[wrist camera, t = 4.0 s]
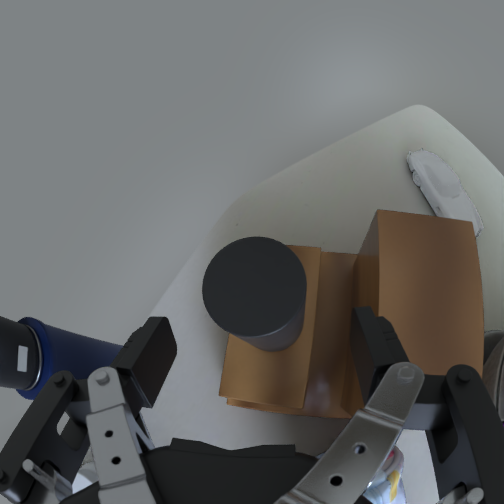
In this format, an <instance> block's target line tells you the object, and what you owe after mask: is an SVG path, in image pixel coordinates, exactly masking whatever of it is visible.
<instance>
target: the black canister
mask: <svg viewBox="0 0 504 504" xmlns="http://www.w3.org/2000/svg"><path fill="white" fill-rule="evenodd" d="M306 292H307V279H306V274H305V270H304V267H303V265H302V263H301V261H300V259H299V258H298V257H297V255H296V254H295V253H294V252H293V251H292V250H291V249H290V248H289V247H287V246H286V245H284V244H283V243H281V242H279V241H276V240H274V239H270V238H266V237H247V238H243V239H240V240H237V241H234V242H232V243H230V244H229V245H227V246H225V247H224V248H223V249H222V250H220V251H219V252H218V253H217V254H216V255H215V256H214V258H213V259H212V260H211V262H210V264H209V265H208V267H207V269H206V272H205V275H204V279H203V285H202V294H203V300H204V304H205V307H206V309H207V311H208V313H209V315H210V317H211V318H212V319H213V320H214V322H215V323H216V324H218V325H219V326H220V327H221V328H222V329H224V330H225V331H227V332H229V333H231V334H232V335H234V336H236V337H238V338H240V339H241V340H243V341H245V342H247V343H249V344H251V345H253V346H254V347H256V348H258V349H260V350H263V351H268V352H276V351H281V350H284V349H286V348H288V347H290V346H291V345H292V344H293V343H295V341H296V340H297V339H298V338H299V336H300V334H301V332H302V329H303V325H304V315H305V304H306Z"/></svg>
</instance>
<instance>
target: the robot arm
mask: <svg viewBox="0 0 504 504" xmlns="http://www.w3.org/2000/svg"><path fill="white" fill-rule="evenodd" d="M350 348H351V353H352V357H353V361H354V365H355V369H356V373H357V377H358V381H359V385H360V389H361V394H362V398H363V402H364V408H363V409H361V408H360V409H358V410H357V412H356V413H355V414H354V416H353V417H352V418H351V420H350V421H349V422H348V424H347V425H346V427H345V428H344V429H343V431H342V432H341V433H340V434H339V436H338V437H337V438H336V440H335V441H334V442H333V443H332V445H331V446H330V447H329V448H328V450H327V451H326V452H325V453H324V454H323V456H322V457H321V458H320V459H317V458H315V457H313V456H310V455H307V454H303V453H298V452H296V448H295V444H291V445H261V446H255V447H250V448H244V449H238V450H226V449H222V448H219V447H216V446H213V445H210V444H207V443H204V442H201V441H193V440H185V439H178V438H173V439H172V442H171V444H170V446H163V447H158V448H155V446H154V444H153V442H152V439H151V437H150V434H149V432H148V429H147V427H146V424H145V422H144V419H143V416H142V414H141V412H140V410H141V408H142V407H146V408H152V407H153V405H154V403H155V401H156V399H157V396H158V394H159V392H160V390H161V388H162V385H163V383H164V381H165V379H166V377H167V375H168V372H169V370H170V368H171V366H172V364H173V362H174V360H175V357H176V355H177V344H176V341H175V338H174V335H173V332H172V329H171V326H170V323H169V320H168V318H167V317H149V318H148V320H147V321H146V323H145V324H144V326H143V327H140V328H139V329H137V330H136V331H135V332H133V333H132V335H131V336H130V338H129V339H128V341H127V342H126V343H125V345H124V346H123V348H122V349H121V350H120V352H119V353H118V355H117V356H116V358H115V359H114V360H113V362H112V363H111V365H110V366H109V367H102V368H99V369H97V370H95V371H94V372H92V373H91V374H90V376H89V378H88V379H80V380H75V378H74V376H73V375H72V373H71V372H69V371H65V370H64V371H59V372H57V373H55V374H54V375H52V376H51V377H50V378H49V380H48V381H47V383H46V384H45V385H44V387H43V388H42V390H41V391H40V392H39V394H38V395H37V397H36V398H35V399H34V401H33V403H32V404H31V405H30V407H29V408H28V410H27V411H26V413H25V414H24V416H23V417H22V419H21V420H20V422H19V424H18V425H17V427H16V428H15V430H14V431H13V433H12V435H11V436H10V438H9V439H8V441H7V443H6V444H5V446H4V448H3V449H2V451H1V453H0V494H1V495H3V496H4V497H6V498H7V499H8V500H9V501H10V502H11V503H13V504H373V503H372V502H370V501H369V500H368V499H367V498H366V497H364V496H363V495H364V493H365V492H366V491H367V489H368V488H369V486H370V485H371V483H372V482H373V480H374V479H375V477H376V476H377V474H378V472H379V471H380V469H381V468H382V466H383V464H384V463H385V461H386V459H387V458H388V456H389V454H390V452H391V451H392V449H393V447H394V445H395V444H396V442H397V440H398V438H399V436H400V434H401V433H402V431H403V429H410V430H425V432H426V436H427V440H428V444H429V448H430V453H431V457H432V462H433V466H434V471H435V476H436V482H437V487H438V493H439V500H440V501H439V502H437V503H436V504H504V426H503V423H502V421H501V419H500V416H499V414H498V412H497V410H496V407H495V405H494V403H493V401H492V399H491V397H490V395H489V393H488V391H487V389H486V387H485V385H484V383H483V381H482V379H481V377H480V375H479V373H478V372H477V371H476V369H474V368H473V367H471V366H469V365H465V364H458V365H454V366H452V367H451V368H450V369H449V370H448V372H447V374H446V375H428V374H424V372H423V371H422V369H421V368H420V367H419V366H417V365H416V364H413V363H410V361H409V359H408V357H407V355H406V352H405V350H404V348H403V346H402V344H401V342H400V340H399V339H398V336H397V334H396V332H395V330H394V328H393V326H392V324H391V322H390V321H388V320H387V319H386V318H385V317H383V316H379V317H375V315H374V312H373V310H372V308H371V306H363V307H354V308H353V309H352V317H351V331H350ZM43 367H44V354H43V347H42V343H41V340H40V337H39V335H38V333H37V332H36V330H35V329H34V328H33V327H31V326H29V325H25V324H20V323H17V322H14V321H12V320H9V319H7V318H4V317H1V316H0V387H7V388H14V389H21V390H25V391H31V390H33V389H35V388H36V387H37V385H38V384H39V382H40V380H41V377H42V373H43ZM64 412H66V413H67V414H68V416H69V417H70V419H69V421H68V422H67V424H66V426H65V428H64V430H63V431H62V433H61V435H59V434H58V432H57V424H58V422H59V420H60V418H61V417H62V415H63V413H64ZM90 445H91V450H92V455H93V460H94V464H95V469H96V473H97V477H98V481H97V482H95V483H93V484H91V485H89V486H87V487H86V488H84V489H82V490H80V491H78V492H76V493H74V494H73V488H72V484H73V482H74V480H75V477H76V475H77V473H78V470H79V468H80V466H81V464H82V461H83V459H84V457H85V455H86V453H87V450H88V448H89V446H90Z"/></svg>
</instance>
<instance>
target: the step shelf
mask: <svg viewBox="0 0 504 504" xmlns="http://www.w3.org/2000/svg"><path fill="white" fill-rule="evenodd" d="M286 246H287V247H289V248H290V249H291V250H292V251H293V252H294V253H295V254H296V255H297V257H298V258H299V259H300V261H301V263H302V265H303V267H304V270H305V274H306V279H307V292H306V304H305V315H304V325H303V329H302V332H301V334H300V336H299V338H298V339H297V340H296V341H295V343H293V344H292V345H291V346H290V347H288V348H286V349H284V350H281V351H276V352H268V351H263V350H260V349H258V348H256V347H254V346H253V345H251V344H249V343H247V342H245V341H243V340H241V339H240V338H238V337H236V336H234V335H232V334H231V333H229V337H228V342H227V348H226V354H225V360H224V366H223V372H222V378H221V384H220V389H219V396H221V397H226V398H227V405H232V406H238V407H243V408H249V409H255V410H261V411H268V412H275V413H283V414H291V415H301V416H312V417H326V418H347V419H351V418H352V417H353V416H354V414H355V413H356V412H357V410H358V409H360V408H361V409H363V408H364V402H363V398H362V394H361V389H360V385H359V381H358V377H357V373H356V369H355V365H354V361H353V357H352V353H351V348H350V331H351V317H352V309H353V308H354V307H363V306H371V308H372V310H373V312H374V315H375V317H379V316H383V317H385V318H386V319H387V320H388V321H390V322H391V324H392V326H393V328H394V330H395V332H396V334H397V336H398V339H399V340H400V342H401V344H402V346H403V348H404V350H405V352H406V355H407V357H408V359H409V361H410V363H413V364H416V365H417V366H419V367H420V368H421V369H422V371H423V372H424V374H428V375H446V374H447V372H448V370H449V369H450V368H451V367H452V366H454V365H458V364H465V365H469V366H471V367H473V368H474V369H476V371H477V372H478V373H479V375H480V377H481V379H482V372H483V355H484V310H483V293H482V281H481V272H480V264H479V257H478V250H477V244H476V238H475V233H474V227H473V222H471V221H464V220H458V219H451V218H444V217H437V216H429V215H422V214H414V213H405V212H397V211H388V210H377V211H376V213H375V216H374V218H373V221H372V223H371V226H370V228H369V230H368V233H367V235H366V237H365V240H364V242H363V244H362V247H361V249H360V251H359V253H358V254H347V253H334V252H322V251H321V248H318V247H306V246H293V245H286Z"/></svg>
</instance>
